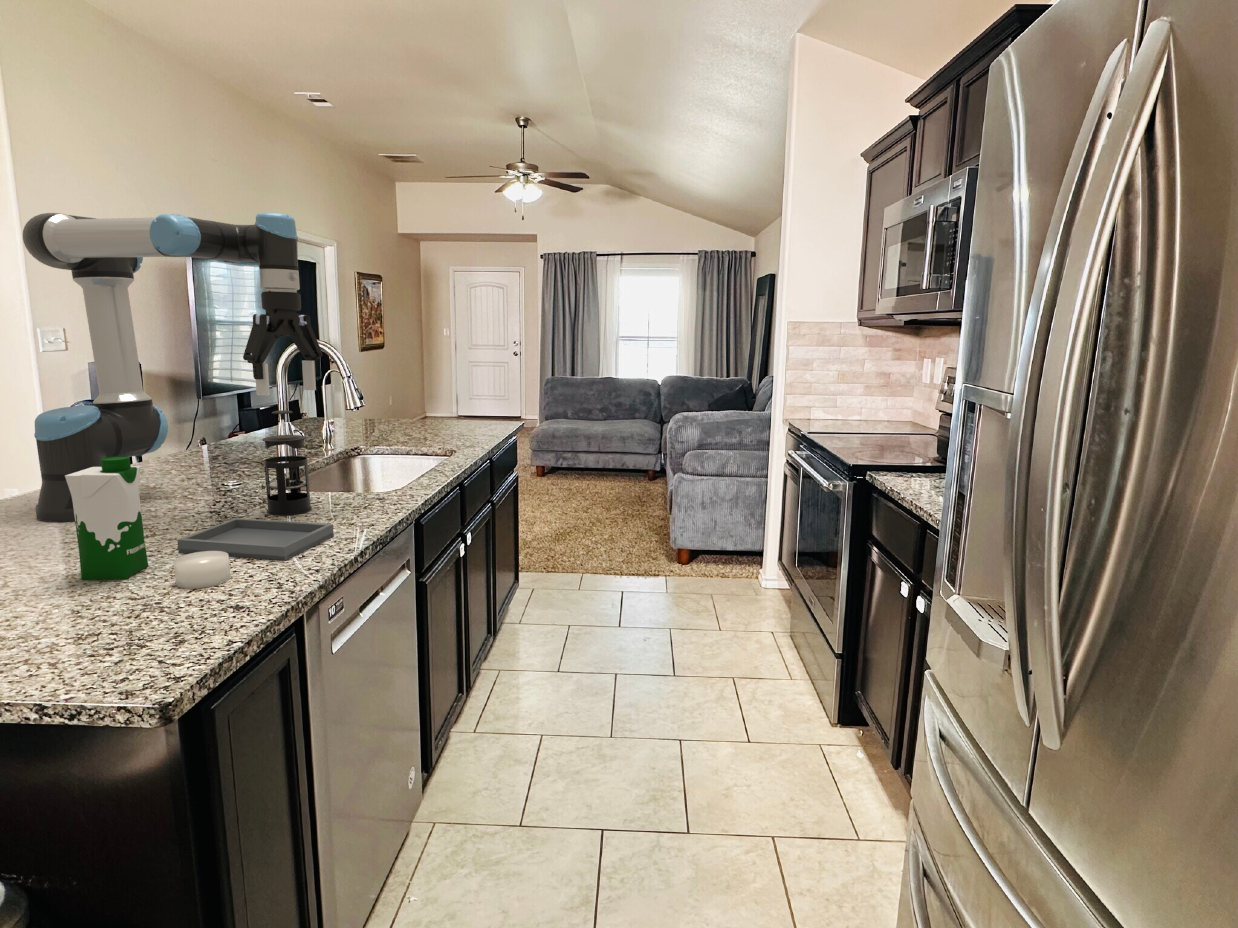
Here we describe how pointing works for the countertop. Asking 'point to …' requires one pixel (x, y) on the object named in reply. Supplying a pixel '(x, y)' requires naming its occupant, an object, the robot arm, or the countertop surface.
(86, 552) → the soya milk
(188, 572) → the cream glossy pebble
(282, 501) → the french press
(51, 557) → the countertop surface
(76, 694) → the countertop surface
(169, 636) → the countertop surface
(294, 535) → the tray
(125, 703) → the countertop surface
